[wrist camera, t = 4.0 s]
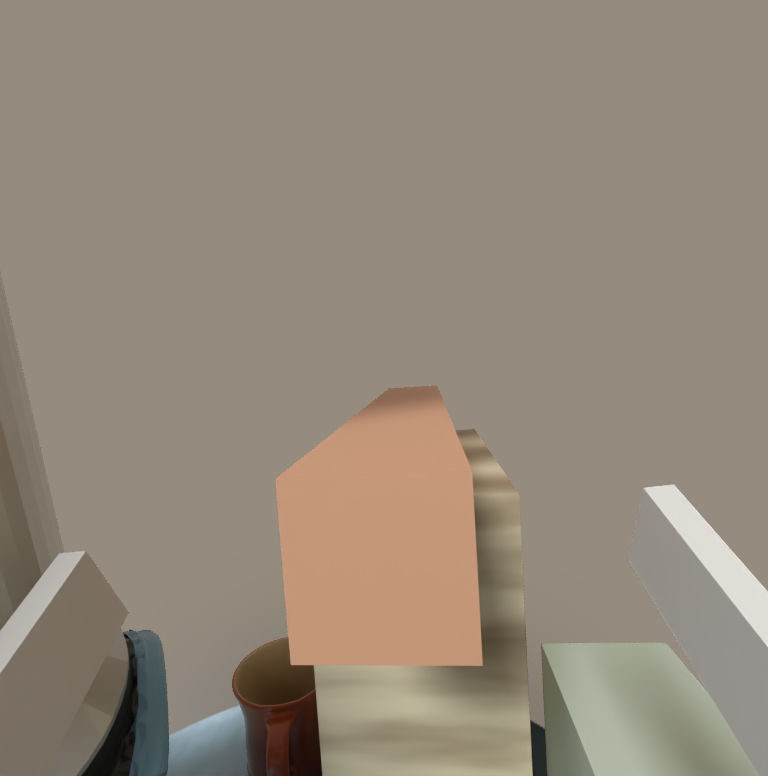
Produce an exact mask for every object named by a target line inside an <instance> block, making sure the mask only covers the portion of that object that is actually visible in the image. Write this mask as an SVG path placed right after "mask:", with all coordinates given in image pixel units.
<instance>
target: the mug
mask: <svg viewBox="0 0 768 776" xmlns="http://www.w3.org/2000/svg"><path fill="white" fill-rule="evenodd" d="M232 688H233V692H234V694H235V697H236V699H237V701H238V703H239V705H240V707H241V710H242V712H243V715H244V719H245V726H246V749H247V760H248V763H247V769H248V775H249V776H322V763H321V751H320V738H319V725H318V712H317V700H316V687H315V674H314V665H291V662H290V650H289V638H288V637H287V638H282V639H278V640H275V641H272V642H269V643H267V644H265V645H263V646H261V647H259V648H257V649H256V650H254V651H253V652H252V653H250V654H249V655H248V656H247V657H245V659H243V661H242V662H241V663H240V665H239V666H238V667H237V669H236V671H235V673H234V676H233V680H232Z"/></svg>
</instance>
